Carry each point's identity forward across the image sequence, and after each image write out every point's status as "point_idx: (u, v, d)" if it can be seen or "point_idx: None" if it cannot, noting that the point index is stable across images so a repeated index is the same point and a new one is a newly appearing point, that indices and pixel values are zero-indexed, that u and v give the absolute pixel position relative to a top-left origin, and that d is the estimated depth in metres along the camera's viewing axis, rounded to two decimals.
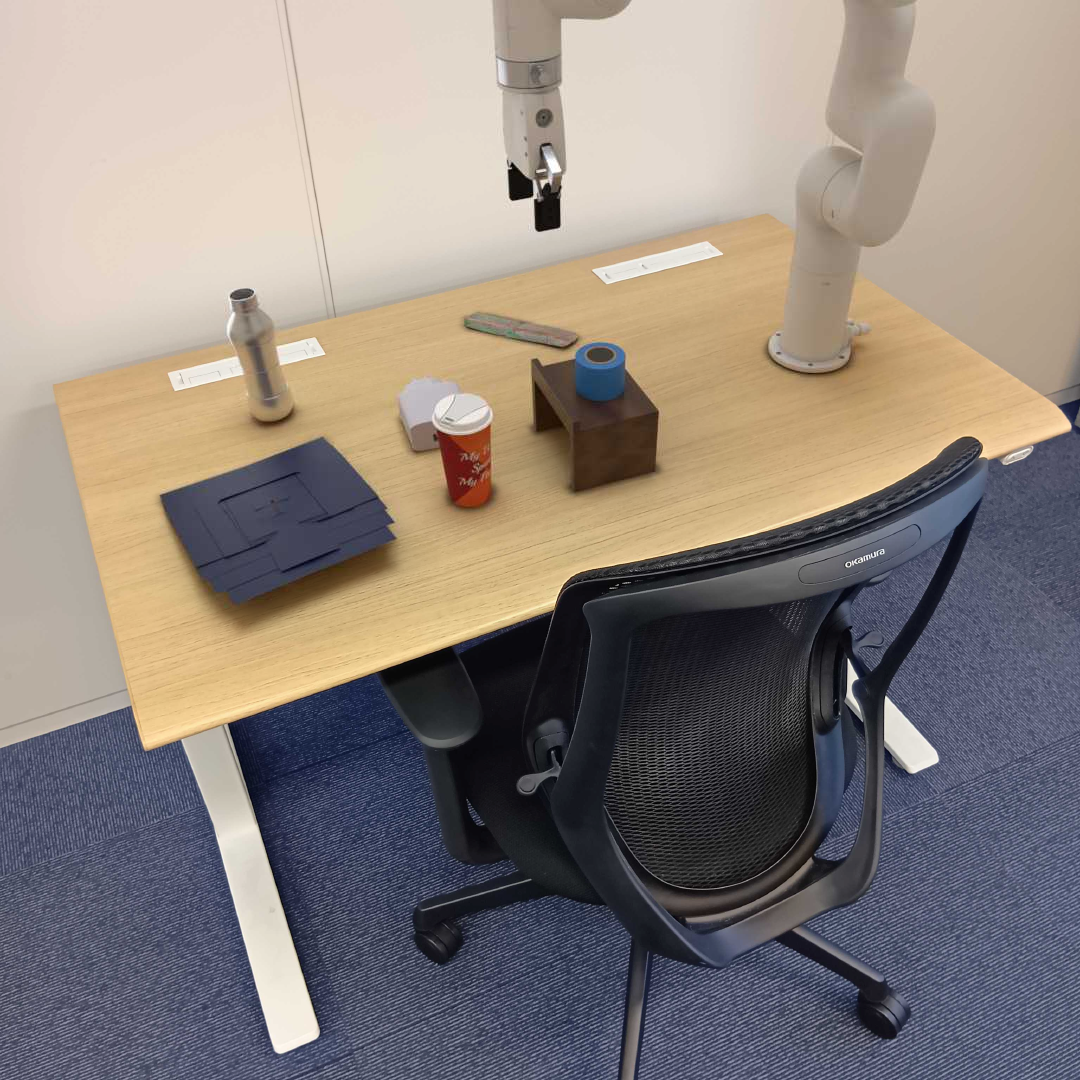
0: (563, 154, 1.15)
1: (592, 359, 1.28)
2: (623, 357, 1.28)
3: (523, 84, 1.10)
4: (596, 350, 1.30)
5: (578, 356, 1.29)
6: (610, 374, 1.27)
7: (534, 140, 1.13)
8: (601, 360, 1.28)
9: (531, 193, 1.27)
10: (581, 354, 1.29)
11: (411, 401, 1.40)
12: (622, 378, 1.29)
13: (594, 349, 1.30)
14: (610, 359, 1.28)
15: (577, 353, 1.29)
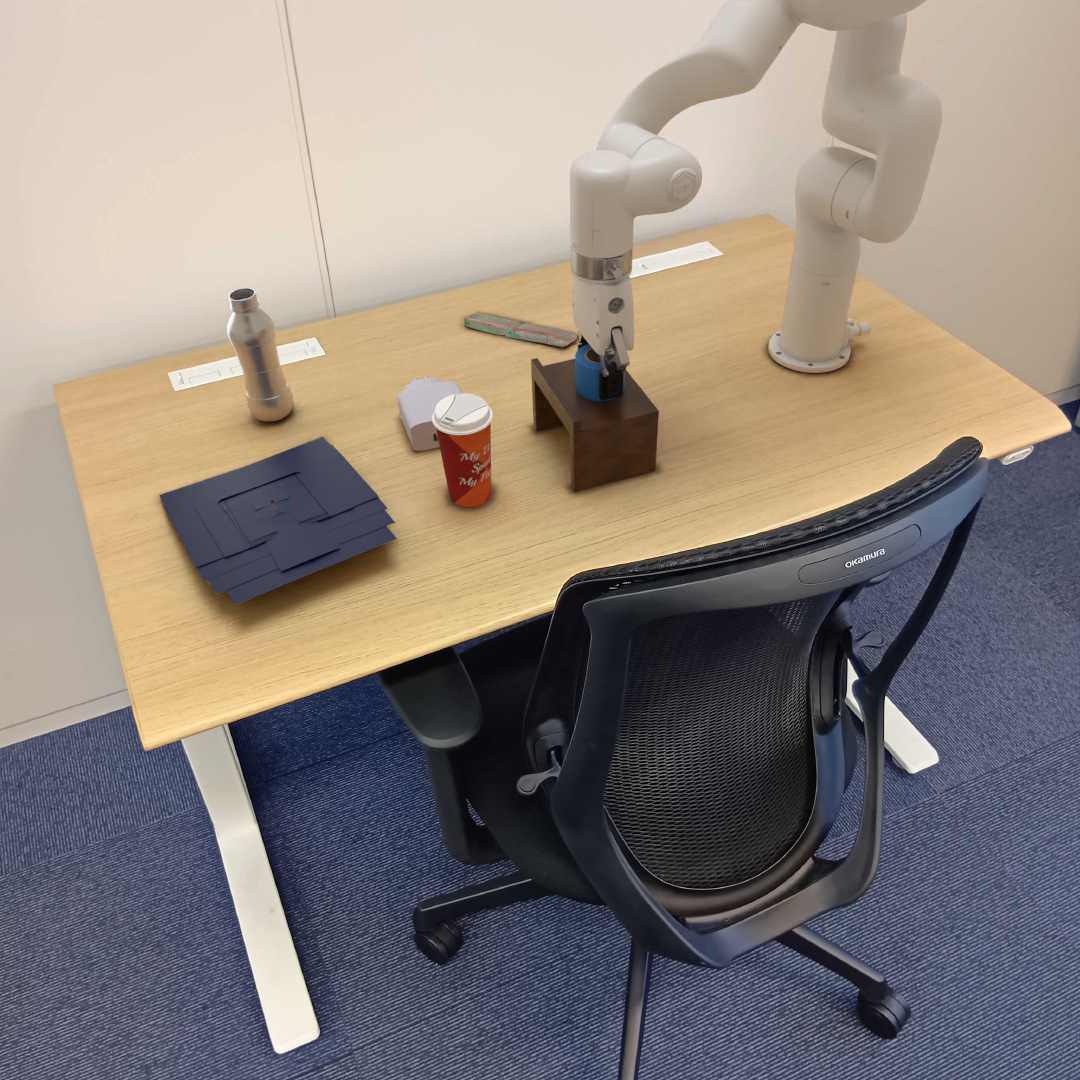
0: (632, 334, 1.22)
1: (592, 359, 1.28)
2: None
3: (597, 276, 1.17)
4: None
5: (578, 356, 1.29)
6: None
7: (606, 324, 1.20)
8: None
9: None
10: (581, 354, 1.29)
11: (411, 400, 1.40)
12: None
13: None
14: (610, 359, 1.28)
15: (577, 353, 1.29)
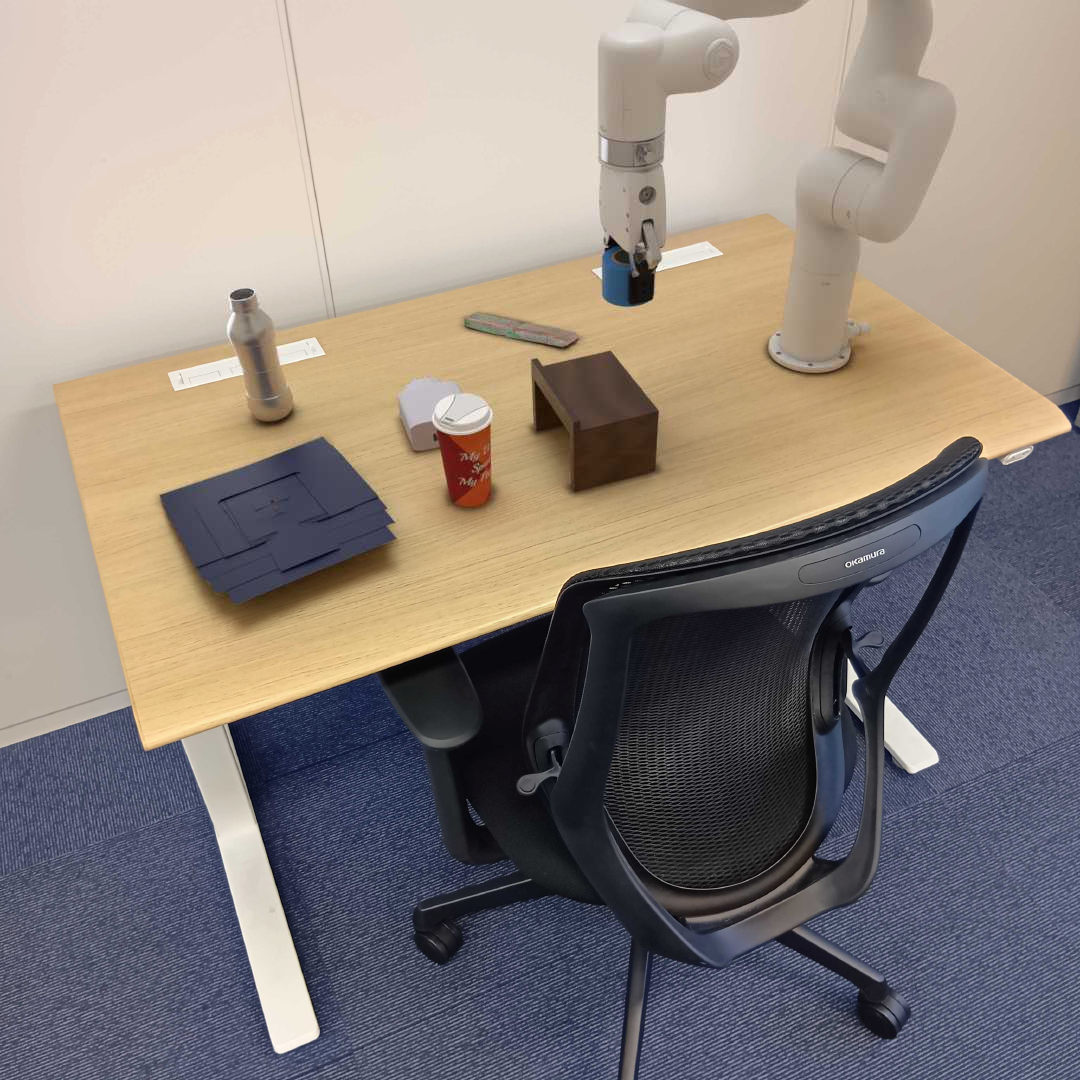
0: (664, 229, 1.14)
1: (620, 261, 1.20)
2: None
3: (627, 163, 1.09)
4: (624, 252, 1.22)
5: (605, 258, 1.21)
6: None
7: (636, 217, 1.12)
8: None
9: None
10: (608, 256, 1.21)
11: (411, 401, 1.40)
12: None
13: (622, 251, 1.22)
14: (639, 260, 1.20)
15: (604, 255, 1.21)
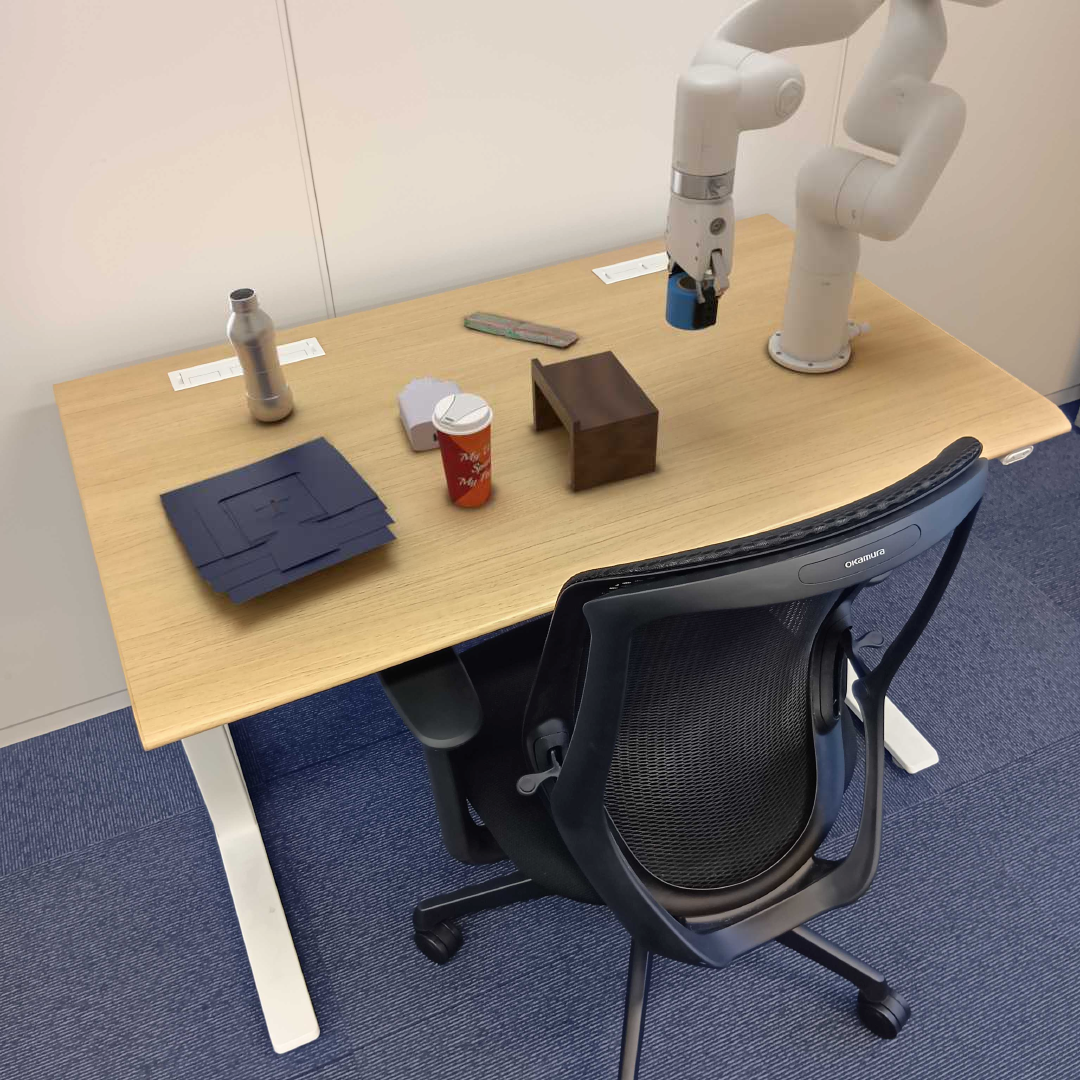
0: (731, 258, 1.20)
1: (685, 287, 1.26)
2: None
3: (700, 195, 1.15)
4: (688, 278, 1.27)
5: (671, 284, 1.27)
6: None
7: (706, 246, 1.18)
8: (695, 287, 1.26)
9: None
10: (673, 282, 1.27)
11: (411, 400, 1.40)
12: None
13: (686, 277, 1.28)
14: (704, 286, 1.26)
15: (669, 281, 1.27)
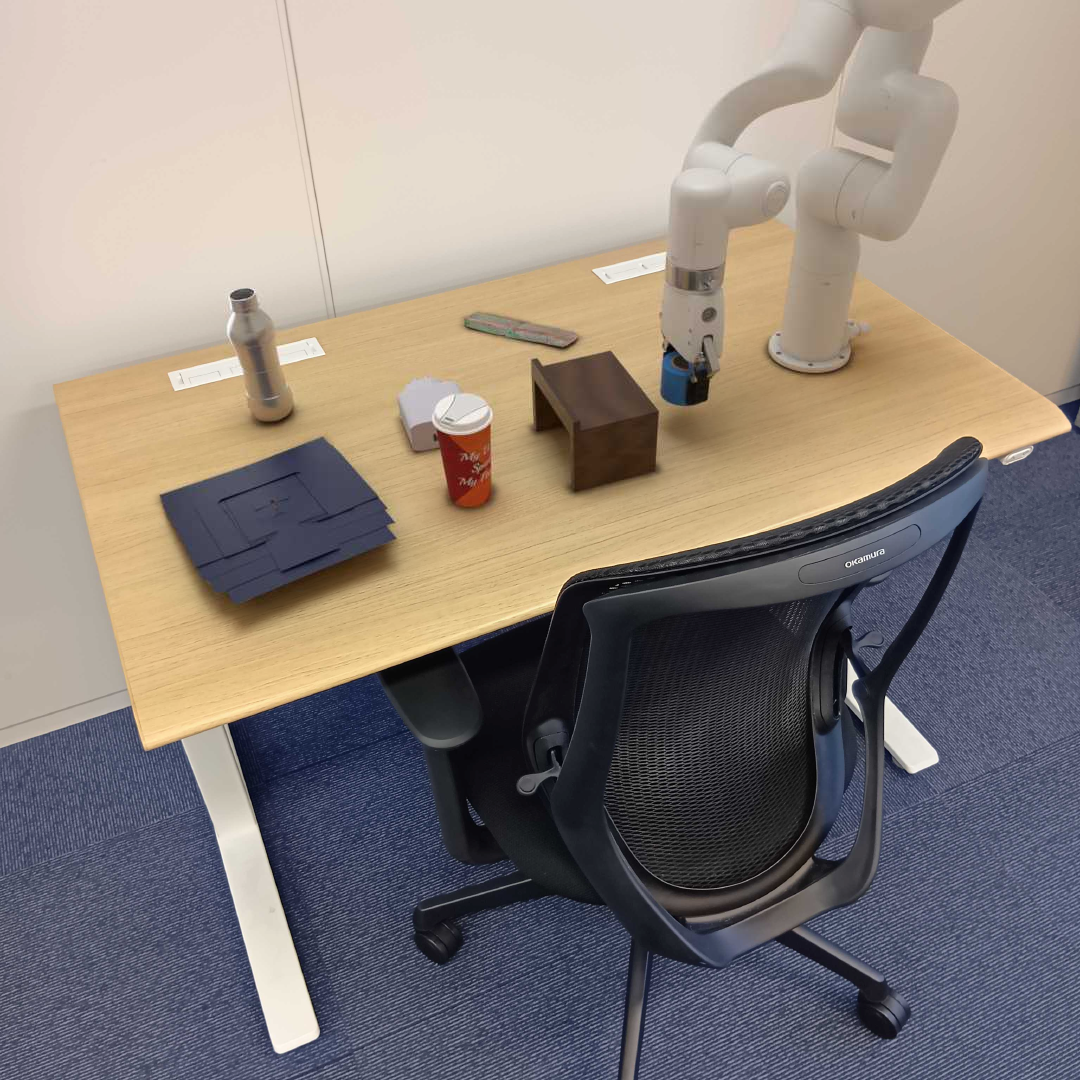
0: (721, 342, 1.28)
1: (679, 366, 1.34)
2: None
3: (693, 287, 1.23)
4: (682, 357, 1.35)
5: (665, 362, 1.35)
6: None
7: (698, 333, 1.26)
8: (688, 367, 1.34)
9: None
10: (667, 361, 1.35)
11: (411, 401, 1.40)
12: None
13: (680, 356, 1.36)
14: (696, 366, 1.34)
15: (664, 360, 1.35)
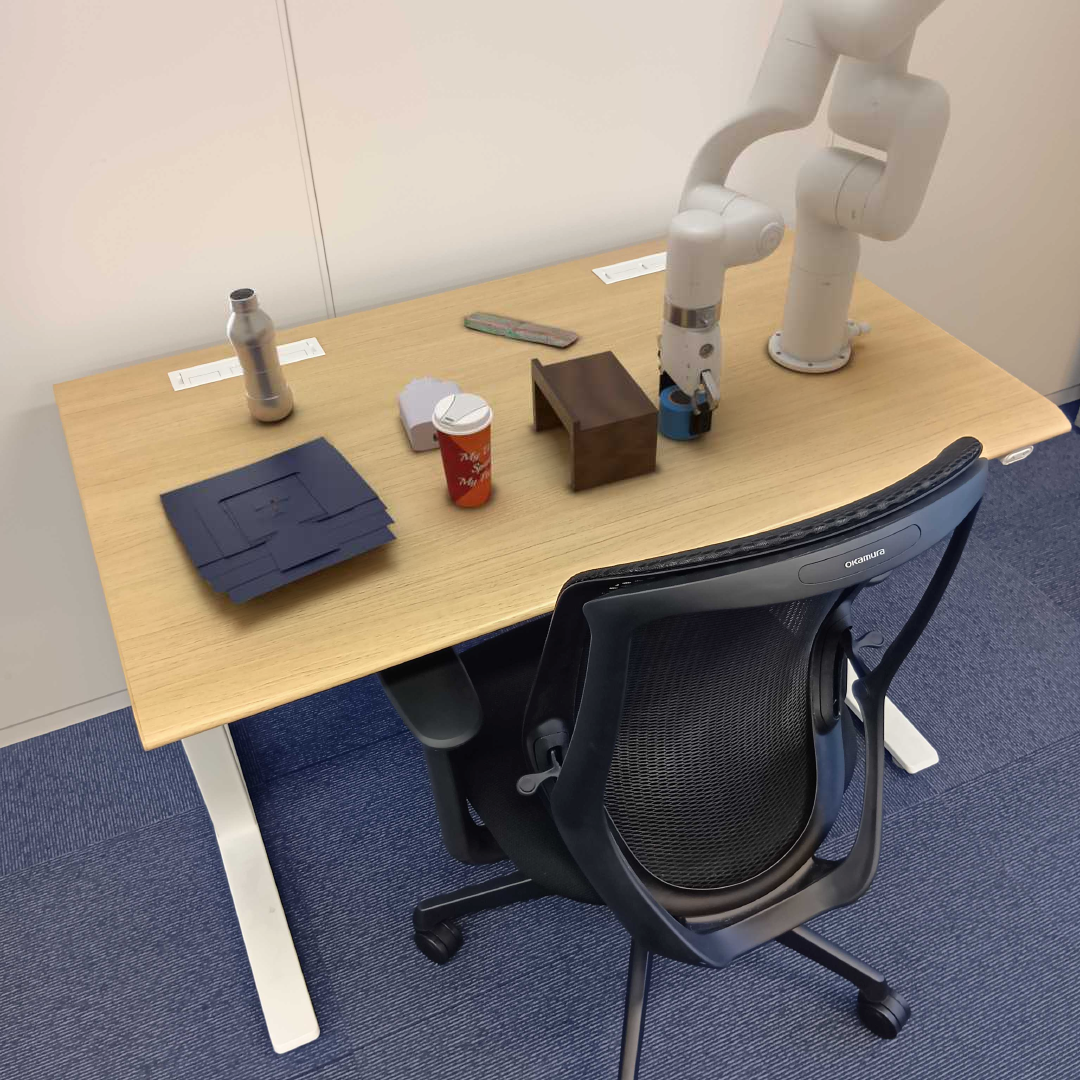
0: (719, 376, 1.32)
1: (676, 401, 1.38)
2: (705, 399, 1.38)
3: (690, 325, 1.27)
4: (679, 392, 1.39)
5: (663, 398, 1.39)
6: None
7: (696, 368, 1.30)
8: (684, 402, 1.37)
9: None
10: (665, 396, 1.39)
11: (411, 401, 1.40)
12: None
13: (677, 391, 1.39)
14: None
15: (661, 395, 1.39)
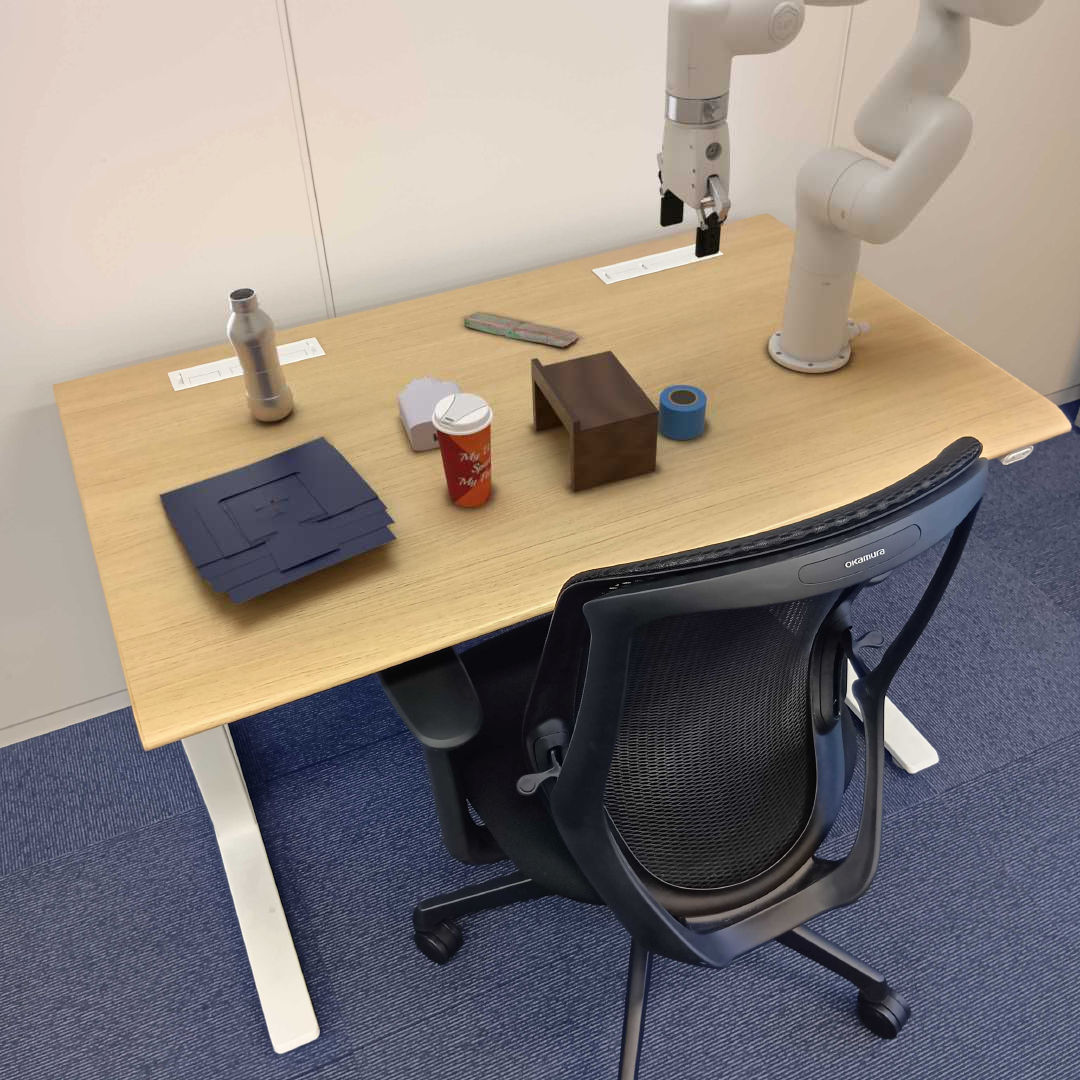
0: (727, 184, 1.20)
1: (676, 401, 1.38)
2: (705, 399, 1.38)
3: (695, 120, 1.15)
4: (679, 392, 1.39)
5: (663, 398, 1.39)
6: (693, 415, 1.37)
7: (703, 172, 1.18)
8: (684, 402, 1.37)
9: (681, 219, 1.32)
10: (665, 396, 1.39)
11: (411, 400, 1.40)
12: (703, 419, 1.39)
13: (677, 391, 1.39)
14: (692, 401, 1.38)
15: (661, 395, 1.39)
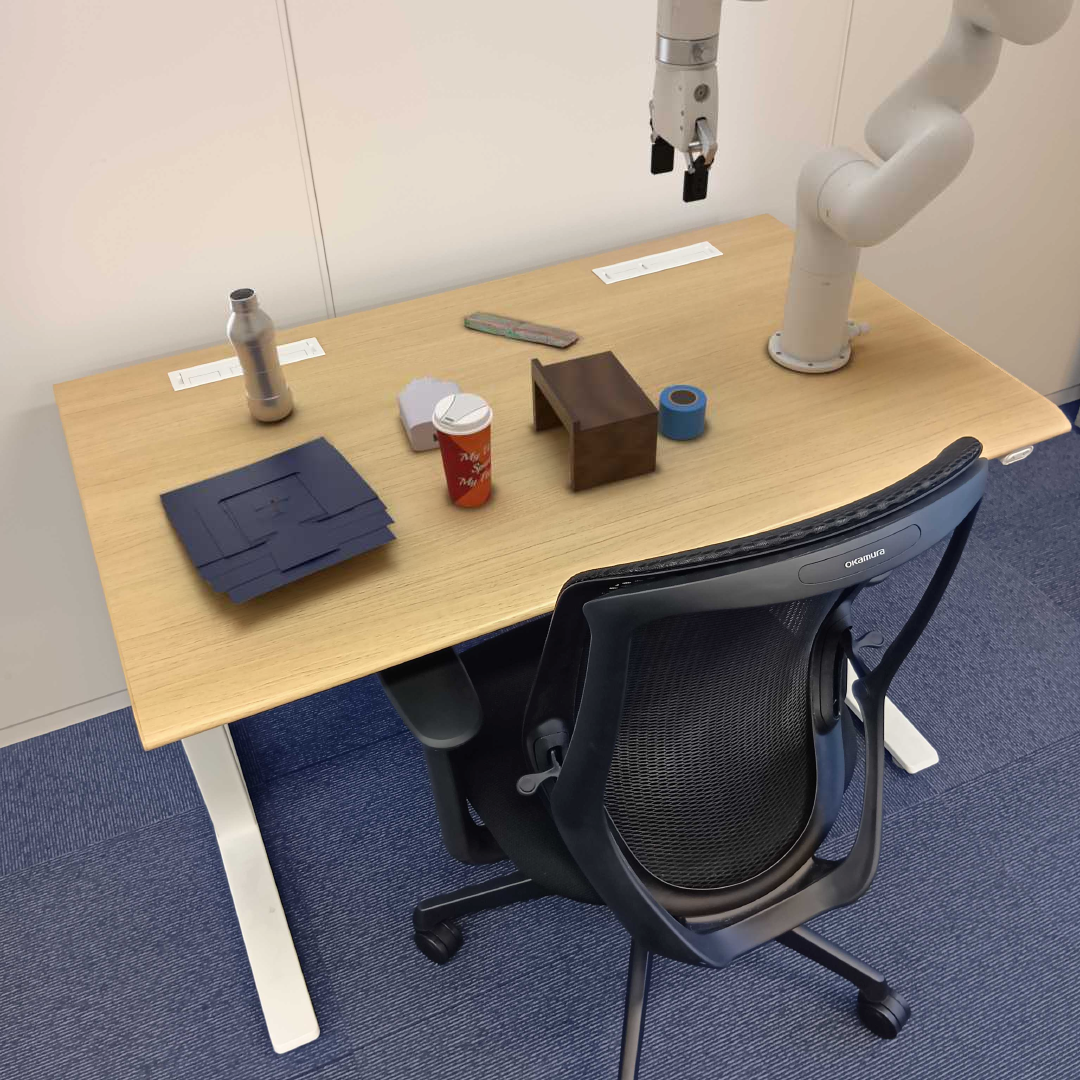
0: (715, 128, 1.22)
1: (676, 401, 1.38)
2: (705, 399, 1.38)
3: (684, 61, 1.17)
4: (679, 392, 1.39)
5: (663, 398, 1.39)
6: (693, 415, 1.37)
7: (691, 114, 1.19)
8: (684, 402, 1.37)
9: (671, 167, 1.34)
10: (665, 396, 1.39)
11: (412, 401, 1.40)
12: (703, 419, 1.39)
13: (677, 391, 1.39)
14: (692, 401, 1.38)
15: (661, 395, 1.39)
